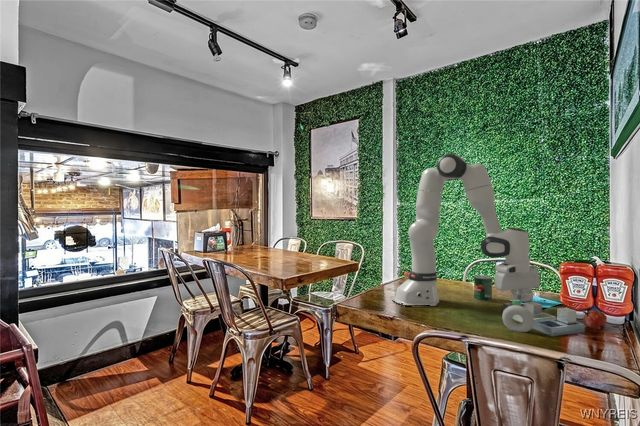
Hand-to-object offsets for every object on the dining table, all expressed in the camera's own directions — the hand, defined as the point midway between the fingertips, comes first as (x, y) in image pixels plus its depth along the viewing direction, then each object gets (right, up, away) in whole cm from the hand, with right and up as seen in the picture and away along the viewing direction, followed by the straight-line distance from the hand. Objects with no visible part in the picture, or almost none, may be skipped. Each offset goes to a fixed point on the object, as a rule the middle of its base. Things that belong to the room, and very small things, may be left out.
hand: (517, 299), depth 143 cm
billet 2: (+7, -6, -19) cm, 21 cm away
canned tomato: (-4, -6, +23) cm, 24 cm away
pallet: (+3, -7, -20) cm, 21 cm away
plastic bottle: (+14, -6, +19) cm, 24 cm away
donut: (-12, -7, -20) cm, 24 cm away
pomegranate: (+19, -7, -17) cm, 27 cm away
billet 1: (0, -6, -10) cm, 12 cm away
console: (0, -6, 0) cm, 6 cm away
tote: (0, -7, -10) cm, 12 cm away
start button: (0, -4, 0) cm, 4 cm away
